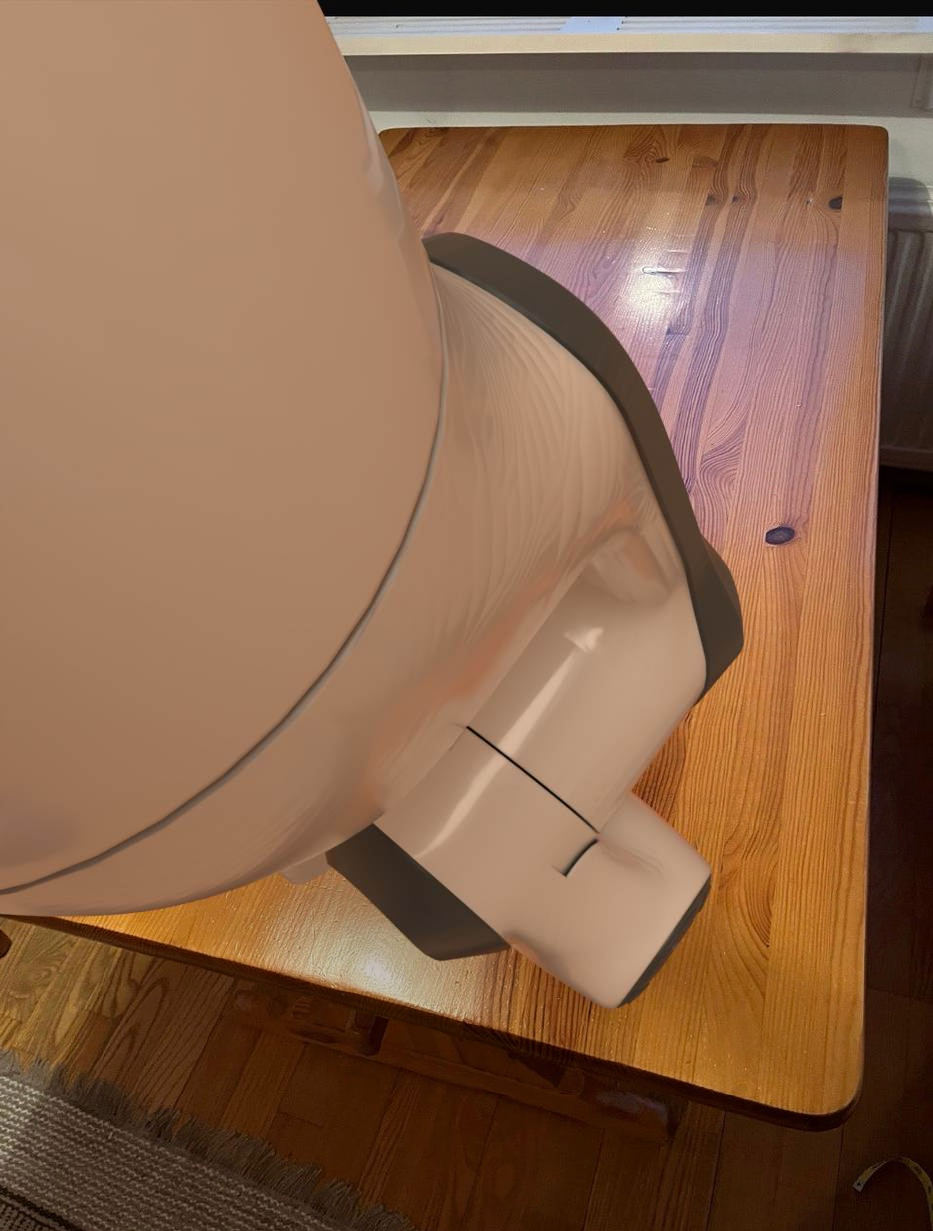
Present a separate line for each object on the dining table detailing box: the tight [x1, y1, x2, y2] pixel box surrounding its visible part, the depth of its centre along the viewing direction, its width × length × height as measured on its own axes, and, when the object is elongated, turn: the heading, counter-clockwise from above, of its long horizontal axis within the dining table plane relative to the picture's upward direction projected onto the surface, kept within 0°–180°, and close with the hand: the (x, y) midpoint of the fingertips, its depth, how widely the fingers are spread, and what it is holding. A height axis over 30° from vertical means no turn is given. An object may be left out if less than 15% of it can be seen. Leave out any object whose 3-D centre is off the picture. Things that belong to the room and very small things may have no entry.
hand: (241, 608), depth 53 cm, fingers open, 8 cm apart
